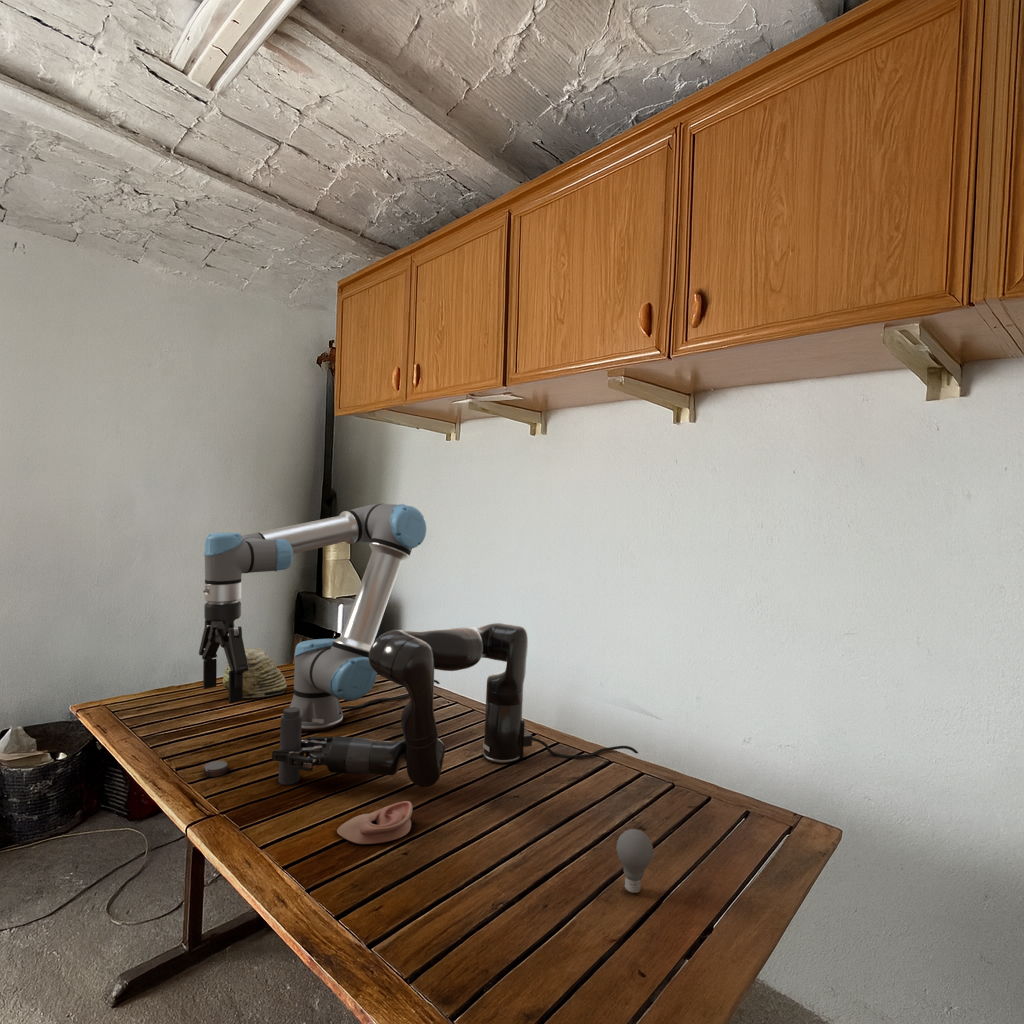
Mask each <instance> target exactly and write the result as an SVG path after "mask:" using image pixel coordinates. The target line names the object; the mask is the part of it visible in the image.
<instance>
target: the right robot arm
mask: <svg viewBox="0 0 1024 1024" xmlns="http://www.w3.org/2000/svg"><path fill="white" fill-rule="evenodd" d="M528 650H529V635H528V632H527V629H526V628H525V627H524V626H520V625H516V624H508V623H502V622H492V623H488V624H485V625H482V626H479V627H472V626H471V627H470V626H465V627H464V626H460V627H449V628H442V629H431V630H425V631H424V630H422V631H415V630H414V631H413V630H403V629H392V630H387V631H386V632H384V633H382V634H381V635H379V636H378V637H377V638H375V640H374V643H373V644H372V646H371V648H370V651H369V662H370V665H371V667H372V668H373V670H374V671H375V672H376V673H377V675H379V676H380V677H383V678H384V679H386V680H388V681H390V682H391V683H394V684H397V685H399V686H401V687H404V688H405V689H406V691H407V694H409V701H408V702H407V703H406V704H405V706H404V707H403V710H402V712H401V716H400V726H401V730H402V734H403V738H402V739H399V740H393V741H390V740H379V739H377V740H376V739H370V738H367V737H355V736H354V737H352V736H335V737H334V736H307V737H306V739H301V749H300V750H296V751H289V750H280V749H274V750H272V752H271V760H272V761H274V762H279V761H284V762H288V767H289V768H294V769H299V770H300V771H304V772H313V768H314V767H316V766H318V767H319V766H326V767H327V770H328V772H329V773H334V774H345V775H358V776H361V775H377V776H394V775H396V774H397V773H398V772H399V770H400V769H401V767H402V765H403V764H404V763H405V764H406V765H405V766H406V773H407V776H408V778H409V780H410V781H411V782H412V784H414V785H415V786H417V787H419V788H422V789H423V788H425V789H426V788H429V787H430V788H431V787H432V786H434V785H435V784H436V783H437V782H438V781H439V780H440V777H441V773H442V769H443V764H444V759H445V753H446V746H445V744H444V742H443V741H442V740H441V739H440V738H439V733H438V727H437V722H436V716H435V711H434V710H435V709H434V695H435V682H434V680H435V670H438V671H444V672H455V671H456V672H457V671H462V670H467V669H471V668H472V667H474V666H476V665H478V663H479V662H480V661H481V659H488V660H493V661H498V662H503V663H506V665H505V670H502V671H497V672H494V673H491V674H489V675H488V676H487V678H486V692H485V713H484V735H483V737H484V739H483V743H482V748H483V751H482V757H483V759H485V760H486V761H488V762H491V763H496V764H512V763H515V762H517V761H520V760H523V759H524V752H525V751H524V750H525V749H524V748H527V747H533V741H534V742H536V743H538V744H541V745H542V746H543V747H545V749H546V750H547V752H548V753H549V754H550V755H552V756H555V757H560V758H565V759H585V758H591V757H593V756H596V755H598V754H600V753H603V752H607V751H615V750H623V749H625V750H630V751H631V752H632V753H634V754H639V751H638V750H636V749H635V748H634V747H632V746H628V745H616V746H611V747H603V748H600V749H597V750H595V751H594V752H591V753H587V754H574V755H573V754H572V755H571V754H569V755H568V754H562V753H558V752H556V751H553V750H552V749H551V748H550V746H549V745H548V743H546V742H545V741H543V740H541V739H539V738H537V737H533V735H532V734H531V733H530V732H529V731H528V730H527V729H526V727H525V725H526V722H525V720H524V718H523V702H524V683H525V679H526V674H527V659H528ZM299 755H300V756H299Z"/></svg>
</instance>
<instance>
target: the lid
mask: <svg viewBox="0 0 1024 1024" xmlns="http://www.w3.org/2000/svg"><path fill="white" fill-rule="evenodd" d="M228 770H229V764H228V762H227V761H225V760H213V761H210V762H207V763H205V764H204V766H203V775H204V776H205V777H209V778H215V777H220V776H223V775H225V774H227V772H229V771H228Z"/></svg>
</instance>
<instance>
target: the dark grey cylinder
mask: <svg viewBox="0 0 1024 1024" xmlns="http://www.w3.org/2000/svg"><path fill="white" fill-rule="evenodd" d="M289 707H290V706H289ZM289 707H285V708H284V709H283V712H282V715H281V716H280V728H279V729H280V730H279V731H280V733H279V735H280V736H279V750H289V751H296V750H300V749H301V740H302V732H301V730H302V715H301V714H300V709H299V708H296V707H290V708H289ZM299 756H300V755H299ZM300 780H301V770H299V769H294V768H289V767H288V762H284V761H278V783H279V784H280V785H284V786H289V785H294V784H297V783H298V782H299V781H300Z"/></svg>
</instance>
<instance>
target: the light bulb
mask: <svg viewBox="0 0 1024 1024" xmlns="http://www.w3.org/2000/svg"><path fill="white" fill-rule="evenodd" d="M615 849H616V854H617V857H618V859H619V861H620V863H621V865H622V867H623V873H624V874H623V875H624V876H625V878H624V888H625V890H627V891H628V892H630V893H634V894H635V893H639V892H640V891H641V889H642V887H641V886H642V879H643V877H644V875H645V871H646V868H647V867H648V866H649V864H650V863H651V861H652V859H653V855H654V847H653V843H652V841H651V838H649V836H648V835H647V834H646V833H645V832H643V831H642V830H641V829H636V828H629V829H627V830H625V831H623V832H622V833H621V834H620V835H619V837H618V839H617V841H616V847H615Z"/></svg>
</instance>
